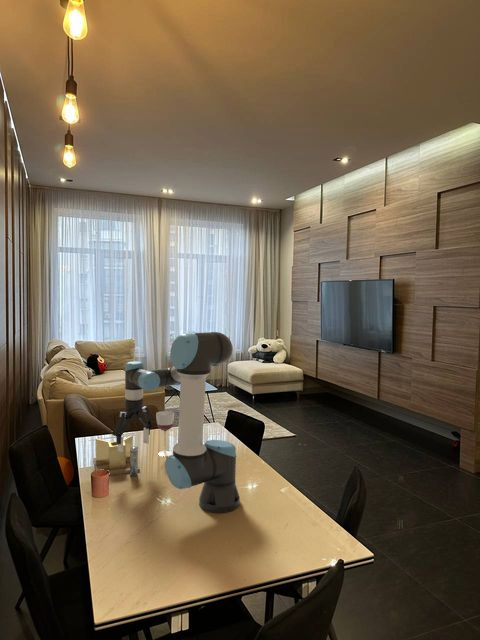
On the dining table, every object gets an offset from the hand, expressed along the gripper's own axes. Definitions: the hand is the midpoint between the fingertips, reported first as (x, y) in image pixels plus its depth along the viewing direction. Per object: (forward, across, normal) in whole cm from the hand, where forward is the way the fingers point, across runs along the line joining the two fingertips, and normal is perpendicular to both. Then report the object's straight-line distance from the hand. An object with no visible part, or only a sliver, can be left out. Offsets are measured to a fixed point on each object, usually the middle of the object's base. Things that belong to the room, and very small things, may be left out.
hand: (133, 447), depth 190 cm
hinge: (+11, -1, -14) cm, 18 cm away
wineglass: (+12, -26, -9) cm, 30 cm away
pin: (+12, 0, 0) cm, 12 cm away
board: (+12, -1, -14) cm, 19 cm away
